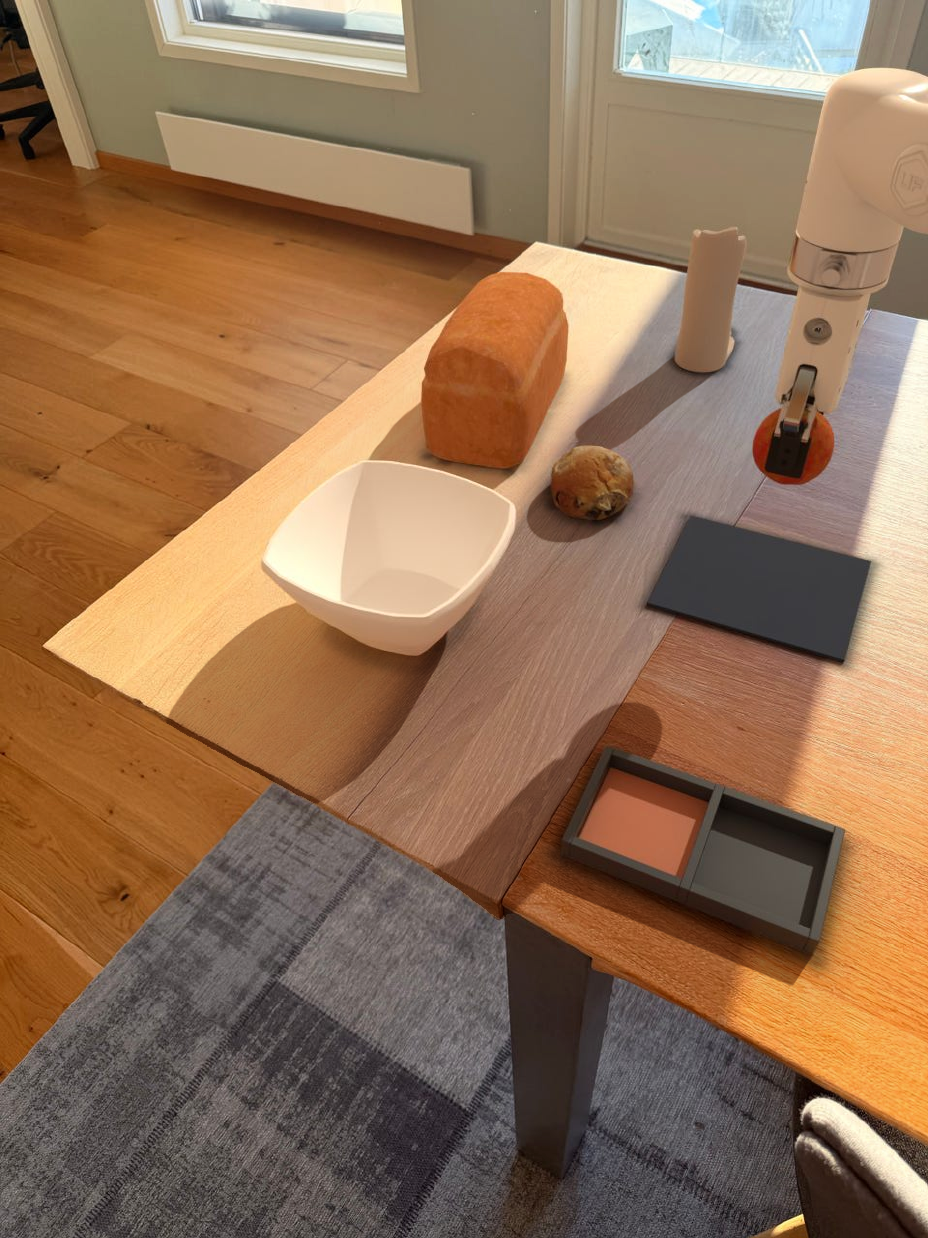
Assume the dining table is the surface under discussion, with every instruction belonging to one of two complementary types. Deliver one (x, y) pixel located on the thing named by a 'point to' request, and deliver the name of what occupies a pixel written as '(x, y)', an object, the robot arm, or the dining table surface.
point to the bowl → (391, 552)
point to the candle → (709, 299)
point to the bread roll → (591, 483)
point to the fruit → (816, 456)
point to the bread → (495, 371)
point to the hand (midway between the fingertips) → (792, 448)
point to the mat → (763, 587)
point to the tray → (707, 847)
